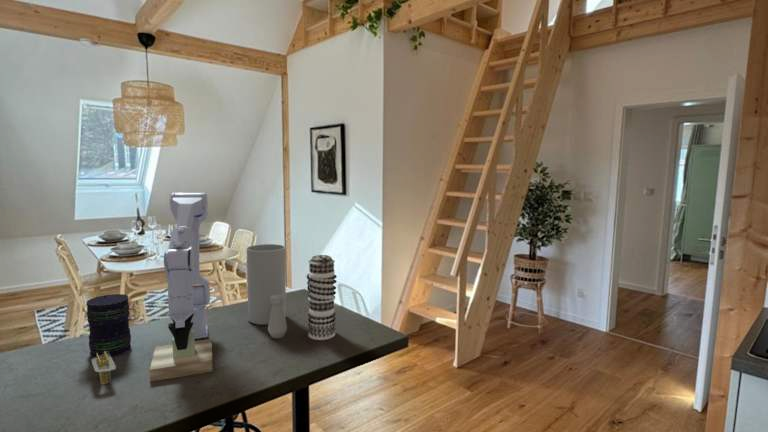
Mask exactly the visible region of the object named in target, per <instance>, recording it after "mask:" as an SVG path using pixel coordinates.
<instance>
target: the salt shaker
mask: <svg viewBox="0 0 768 432" xmlns="http://www.w3.org/2000/svg"><path fill="white" fill-rule="evenodd" d="M270 302H271V303H272V308H271V314H270V319H269V325H268V326H267V331H268V333H269V335H270V337H271V338H272V339H281V338H284V336H285V335H286V333H287V331H288V326H287V319H286V317H285V313H284V308H283V302H284V296H283V295H282V294H275V295H272V296H271V297H270Z"/></svg>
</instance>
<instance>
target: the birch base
mask: <svg viewBox="0 0 768 432" xmlns="http://www.w3.org/2000/svg"><path fill="white" fill-rule="evenodd" d="M212 347H213V346H212V338H210V339H204V340H203V339H202V340H196V341H195V356H188V357H181V358H175V359H173V345H172V344H166V345H161V346H160V345H158V346H155V348H154V352H153V355H152V358H151V359H152V360H151V363H150V368H149V382H157V381H162V380H169V379H174V378H179V377H182V378H183V377H186V376H192V375H199V374H206V373H211V372H214V371H213V349H212Z"/></svg>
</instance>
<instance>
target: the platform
mask: <svg viewBox="0 0 768 432" xmlns="http://www.w3.org/2000/svg"><path fill="white" fill-rule="evenodd" d="M91 364H92V367H93V369H94V371H95V372H96V373H99V380H100V381H99V382H100V385H101V386H102V385H104V384H109V385H110V386H112V374H111V373H112V372H111V371H114V370H116V368H117V366H116V364H115V361H114V360H113V357H112V358H111V355H110V353H106V352H105V351H104V354H101V355H99V356H98V354H97V357H95V358H92V359H91Z"/></svg>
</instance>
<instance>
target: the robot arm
mask: <svg viewBox="0 0 768 432" xmlns="http://www.w3.org/2000/svg"><path fill="white" fill-rule="evenodd" d="M208 203H209V202H208V194H207V193H206V192H172V193H170V197H169V207H170V212H171V213H172V216H173V218H174V220H175V221H176V227H175V228H174V229H173V230H172V231H171V233H170V238H169V239H170V240H169V245H168V249H167V250H164V254H163V268H164V272H165V278H166V279H167V296H168V311H167V314H168V315H167V316H168V317H169V318H170V320H171V321H172V323H168V325H167V327H168V330H169V332H170V333H171V335H172V338H173V337H174V340H175V344H176V347H177V350H184V349H187V345H188V337H189V333H190V331H191V330H194V337H195V340H198V339H204V338H207V337H208V335H209V334H208V325H207V320H206V319H207V318H206V306H208V305H209V304H210V301H211V289H210V281H209V279H208V278H206V277H204V276H203V275H202V274H201V272H200V229H201V228H200V227H201V225H202V222H203V221H206V220H207V219H208V218H207V217H208Z"/></svg>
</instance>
